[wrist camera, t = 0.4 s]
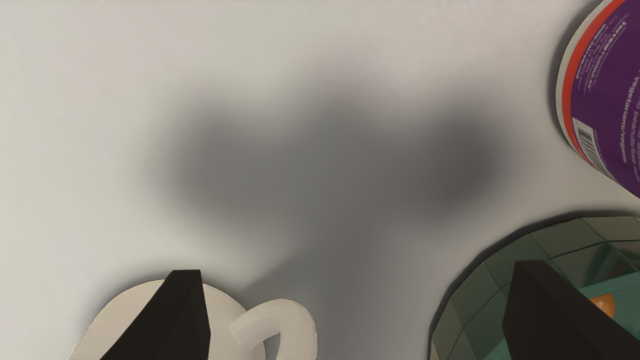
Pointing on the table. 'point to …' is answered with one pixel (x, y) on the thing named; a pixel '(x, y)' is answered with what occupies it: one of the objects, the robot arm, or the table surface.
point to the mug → (212, 326)
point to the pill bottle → (604, 91)
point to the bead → (605, 304)
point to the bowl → (565, 258)
